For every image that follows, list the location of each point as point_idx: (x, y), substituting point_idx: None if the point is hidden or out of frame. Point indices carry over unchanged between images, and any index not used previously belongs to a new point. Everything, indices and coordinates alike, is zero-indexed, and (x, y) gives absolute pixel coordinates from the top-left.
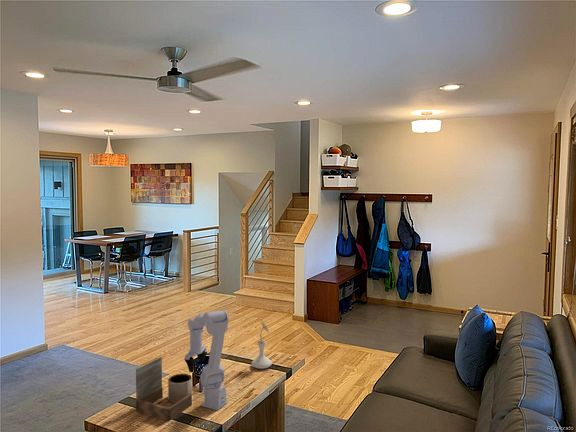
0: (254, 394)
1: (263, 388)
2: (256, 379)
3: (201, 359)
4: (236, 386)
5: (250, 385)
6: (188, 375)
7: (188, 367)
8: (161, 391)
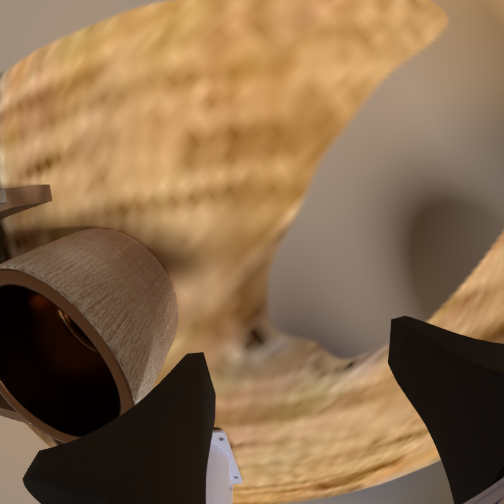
0: (354, 486)
1: (406, 471)
2: None
3: (438, 411)
4: (395, 420)
5: (418, 440)
6: (122, 403)
7: (160, 389)
8: (18, 208)
